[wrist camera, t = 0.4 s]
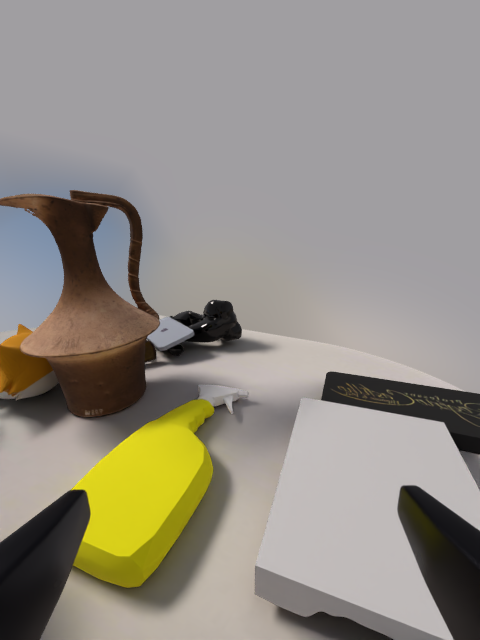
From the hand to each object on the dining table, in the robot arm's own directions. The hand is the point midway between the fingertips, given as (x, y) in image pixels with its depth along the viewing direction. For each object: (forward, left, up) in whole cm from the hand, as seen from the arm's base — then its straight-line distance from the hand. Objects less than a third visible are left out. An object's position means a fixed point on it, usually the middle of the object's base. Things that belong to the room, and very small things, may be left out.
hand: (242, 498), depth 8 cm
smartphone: (+42, +14, -12) cm, 46 cm away
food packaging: (+13, -10, -16) cm, 23 cm away
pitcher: (+30, +21, -16) cm, 40 cm away
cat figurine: (+50, +13, -16) cm, 54 cm away
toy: (+32, +33, -16) cm, 48 cm away
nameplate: (+21, -18, -15) cm, 31 cm away
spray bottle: (+19, +8, -16) cm, 26 cm away
